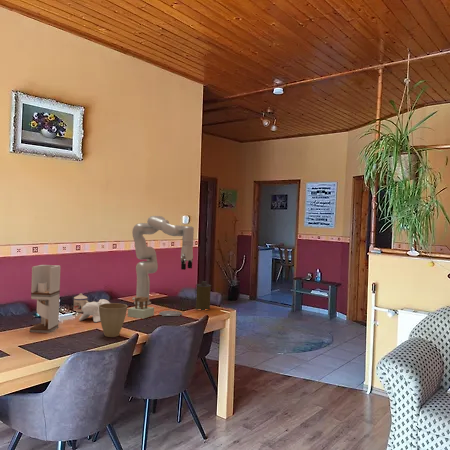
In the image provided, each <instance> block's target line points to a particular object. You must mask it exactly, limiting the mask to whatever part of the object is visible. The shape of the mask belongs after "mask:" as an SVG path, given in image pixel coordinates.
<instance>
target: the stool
mask: <svg viewBox="0 0 450 450" xmlns="http://www.w3.org/2000/svg"><path fill="white" fill-rule="evenodd" d="M135 297H136V296H135ZM137 301H138V302H139V305H137ZM147 301H148V297H142V296H140V297H136V298H135V300H134V302H135V304H134V307H135V308H136V309H137V306H139V307H141V309H143V306H145V308H147V307H148V305H147ZM143 302H145V305H143Z"/></svg>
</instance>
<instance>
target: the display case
mask: <svg viewBox="0 0 450 450" xmlns="http://www.w3.org/2000/svg"><path fill="white" fill-rule="evenodd" d="M30 287H31V288H30V289H31V292H30V299H31V300H36V313H37V314H38V316H39V317H41V319H40V323H38V324H35V325H33V326H31V327H30V328H29V332H30V333H43V334H45V333H46V334H50V333H52V332H54V331H55V330H57V329H58V328H59V323H60V322H59V321H60V320H59V319H60V315H59V314H60V292H61V291H60V290H61V265H58V264H57V265H52V264H39V265H34V266H31V286H30Z"/></svg>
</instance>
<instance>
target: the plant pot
mask: <svg viewBox="0 0 450 450" xmlns="http://www.w3.org/2000/svg"><path fill="white" fill-rule="evenodd" d="M127 312H128V305H127V304H126V303H125V304H124V303H116V302H110V303H107V304H101V305H99V314H100V320H101V321H100V325H101V328H102V332H103V334H104V336H105V337H107V338H115V337H119V335H120V333H121V331H122V329H123V325H124V322H125V318H126V315H127Z"/></svg>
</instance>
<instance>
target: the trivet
mask: <svg viewBox="0 0 450 450" xmlns="http://www.w3.org/2000/svg"><path fill="white" fill-rule="evenodd" d="M158 315H159V316H160V315H162V316H161V317H164V316H178V317H180V315H181V316H182V315H183V313H182V311H178V310H162V311H159V313H158Z"/></svg>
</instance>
